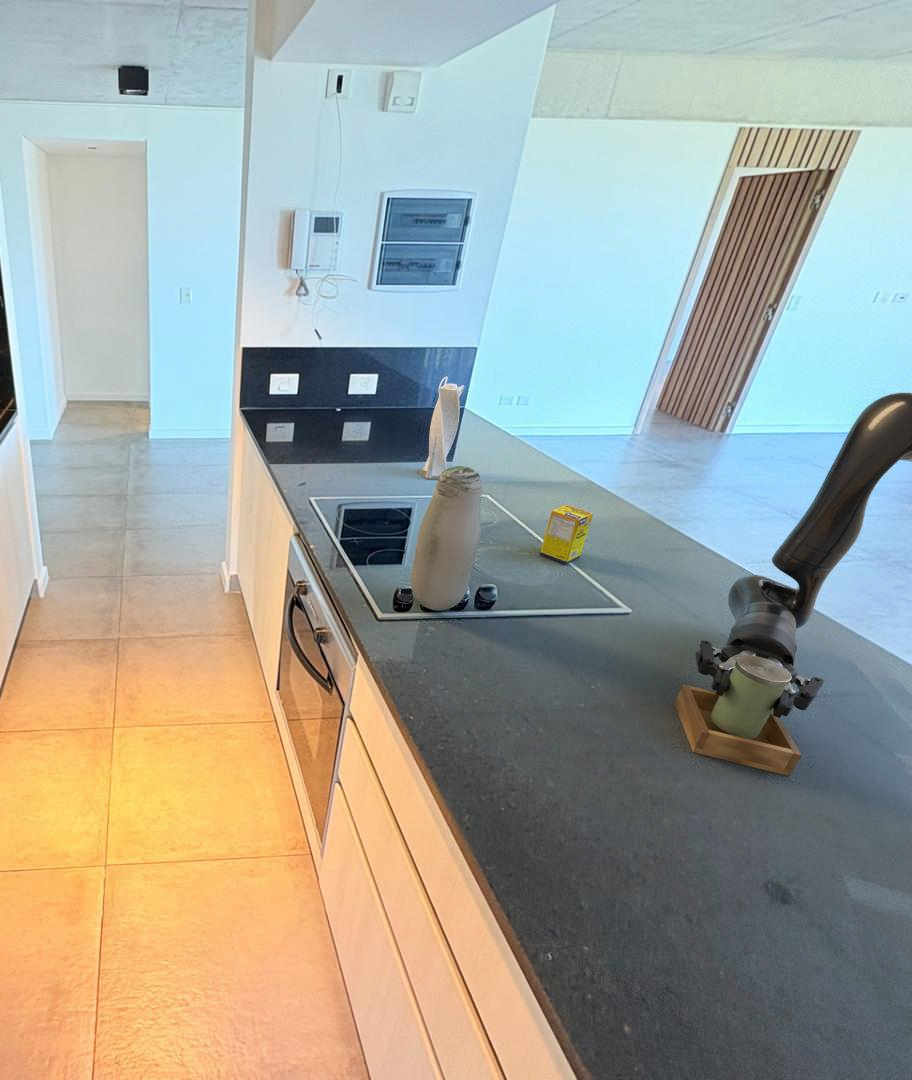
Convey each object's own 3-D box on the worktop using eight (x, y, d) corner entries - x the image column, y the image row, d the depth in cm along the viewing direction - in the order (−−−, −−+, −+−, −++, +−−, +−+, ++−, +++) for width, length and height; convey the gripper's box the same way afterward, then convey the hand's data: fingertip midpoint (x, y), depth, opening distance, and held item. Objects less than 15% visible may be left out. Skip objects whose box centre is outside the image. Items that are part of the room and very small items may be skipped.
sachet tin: (734, 708, 89) (763, 653, 85) (770, 737, 84) (803, 680, 80) (699, 712, 89) (726, 656, 84) (733, 740, 84) (765, 683, 79)
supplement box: (579, 558, 135) (594, 513, 130) (565, 565, 132) (580, 519, 127) (552, 548, 140) (566, 503, 135) (538, 555, 137) (551, 510, 132)
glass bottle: (415, 586, 125) (440, 454, 112) (468, 602, 119) (501, 465, 107) (399, 607, 117) (424, 470, 105) (454, 625, 112) (488, 482, 100)
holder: (760, 723, 90) (771, 703, 88) (789, 776, 81) (802, 755, 79) (673, 703, 94) (682, 684, 92) (692, 752, 85) (702, 731, 83)
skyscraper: (414, 469, 186) (431, 376, 173) (440, 468, 186) (458, 375, 174) (427, 479, 178) (445, 382, 166) (453, 478, 179) (473, 381, 166)
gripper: (813, 685, 90) (808, 749, 79) (693, 645, 99) (674, 697, 88) (837, 644, 87) (836, 704, 76) (711, 606, 96) (694, 655, 85)
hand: (749, 700), depth 82 cm, fingers closed on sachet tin, 5 cm apart
